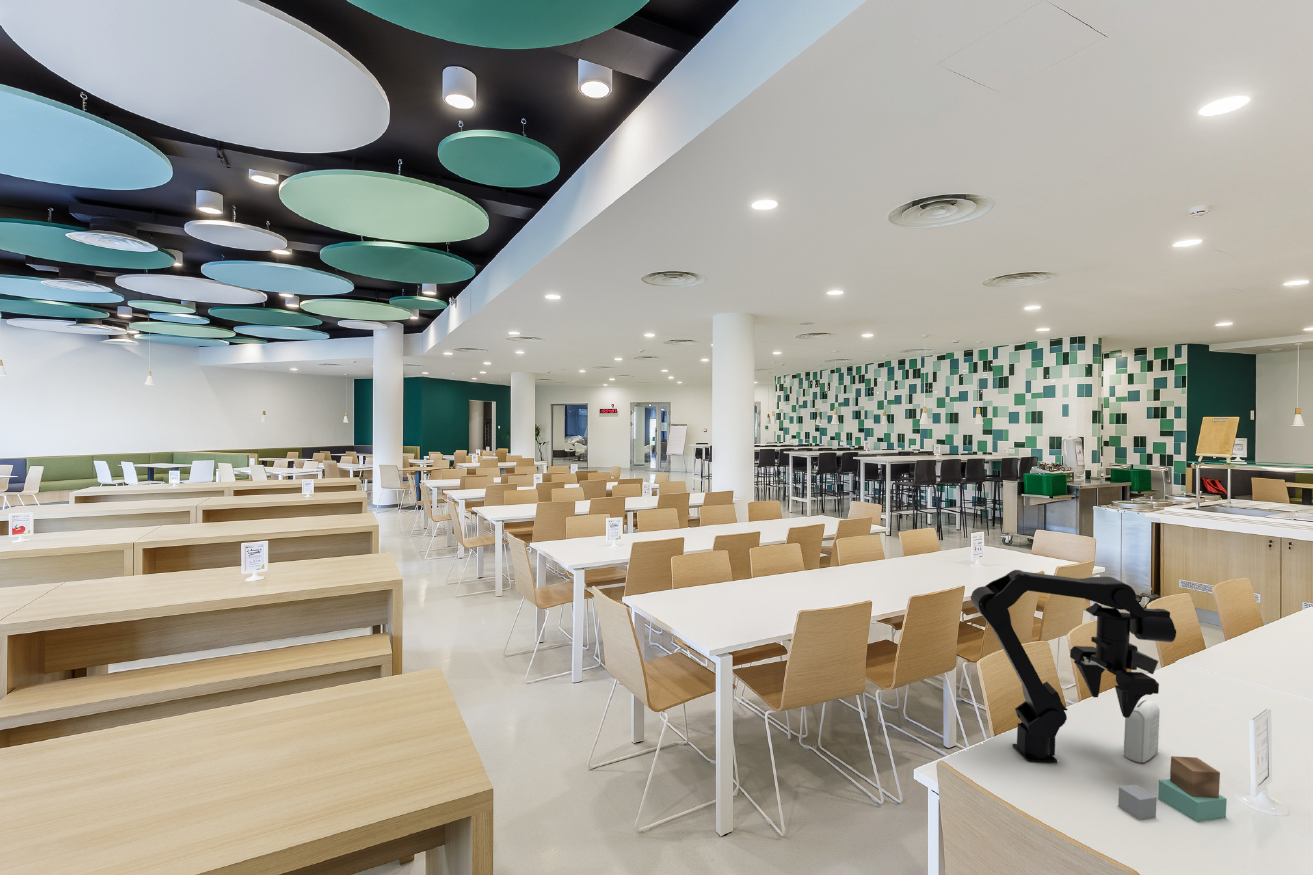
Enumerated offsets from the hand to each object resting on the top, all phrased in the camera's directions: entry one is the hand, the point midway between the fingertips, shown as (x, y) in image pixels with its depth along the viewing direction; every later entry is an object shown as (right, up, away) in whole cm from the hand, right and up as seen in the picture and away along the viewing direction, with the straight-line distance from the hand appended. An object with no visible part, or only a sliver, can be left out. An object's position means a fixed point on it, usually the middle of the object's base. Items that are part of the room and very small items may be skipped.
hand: (1110, 706), depth 128 cm
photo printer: (+11, -13, +5) cm, 18 cm away
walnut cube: (+6, -10, -14) cm, 18 cm away
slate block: (-7, -13, -15) cm, 22 cm away
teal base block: (+5, -14, -14) cm, 20 cm away
